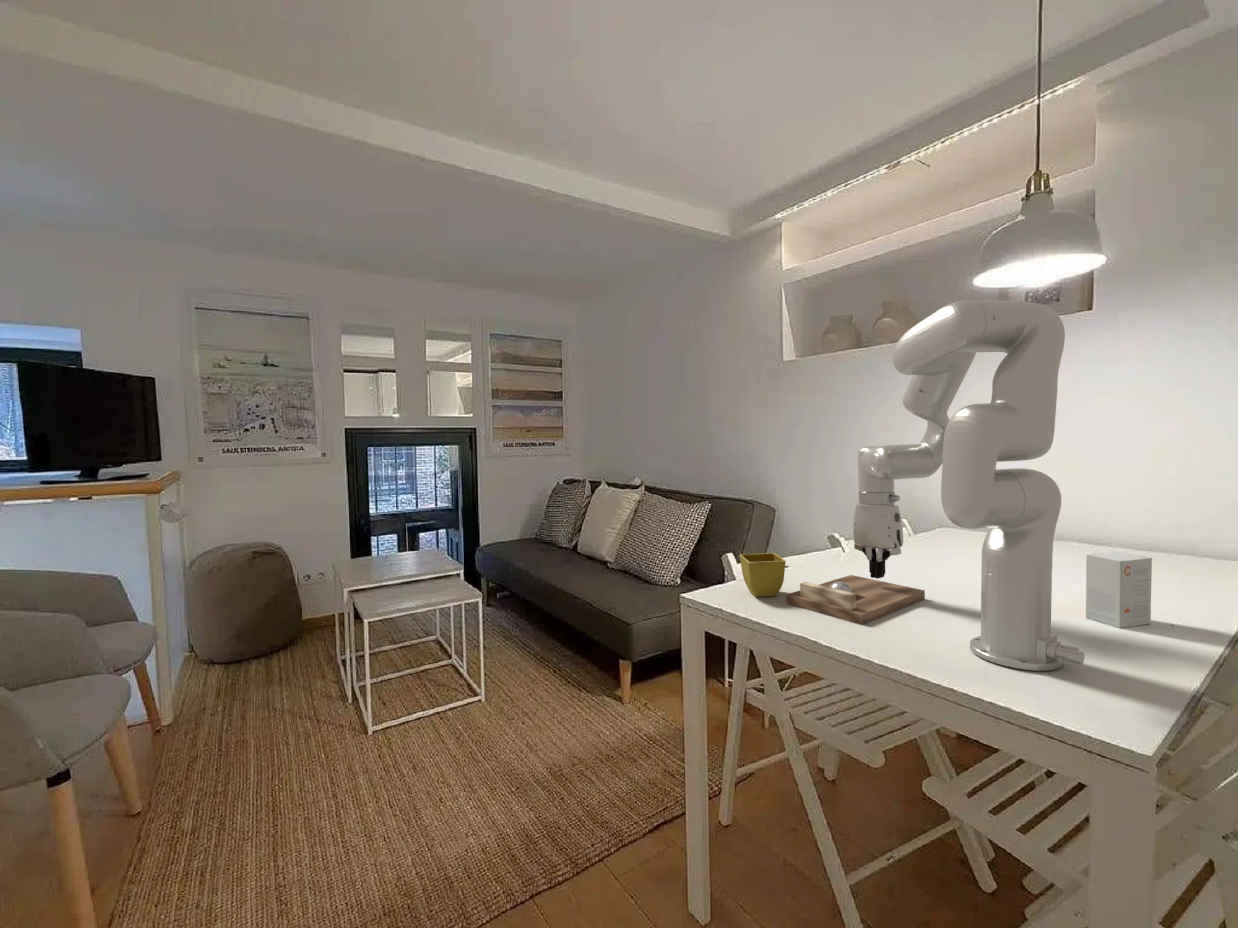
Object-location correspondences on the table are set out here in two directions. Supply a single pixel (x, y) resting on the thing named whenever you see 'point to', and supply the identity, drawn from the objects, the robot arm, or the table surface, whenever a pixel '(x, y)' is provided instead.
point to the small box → (1118, 589)
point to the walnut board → (865, 599)
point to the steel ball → (841, 586)
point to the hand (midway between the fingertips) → (877, 576)
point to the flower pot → (763, 573)
